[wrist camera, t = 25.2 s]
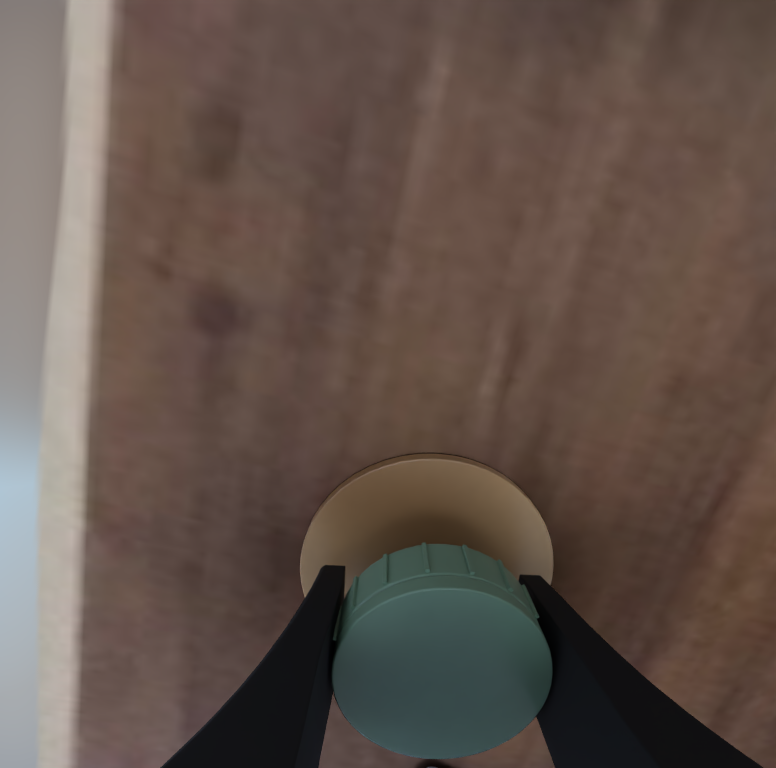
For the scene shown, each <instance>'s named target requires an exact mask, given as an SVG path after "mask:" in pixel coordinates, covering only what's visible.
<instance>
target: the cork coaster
mask: <svg viewBox="0 0 776 768" xmlns="http://www.w3.org/2000/svg"><path fill="white" fill-rule="evenodd" d="M424 542H426V544H450V545H458V546H462V545H463V544H464V545H467V548H471V549H473V550H476V551H479V552H481V553H483V554H485V555H487V556H489V557H491V558H493V559H494V560H496V561H498V560H499V559H500V560H501V561H502V562H503V565H504V567H505V568H506V569H508V570H509V571H510V572H511V573H512V574H513V575H514V577H515V578H516V579H517V580H518V581H519V576H520V574H523V575H540V576H541V577H542V578H543V579H544V580H545V581H546V582H547V583H548V584H549V585H551V582H552V575H553V568H554V564H553V549H552V543H551V538H550V535H549V532H548V530H547V527H546V524H545V522H544V521H543V519H542V517H541V515H540V513H539V511H538V510H537V508H536V507H535V505H534V504H533V503H532V501H531V500H530V499H529V498H528V496H527V495H526V494H525V493H524V492H523V491H522V490H521V489H520V488H519V487H518V486H517V485H516V484H515V483H514V482H512V481H511V480H510V479H508V478H507V477H506V476H504V475H503V474H501V473H500V472H498V471H496V470H494V469H492V468H490V467H489V466H486V465H484V464H481V463H479V462H476V461H473V460H470V459H466V458H462V457H458V456H454V455H445V454H413V455H405V456H400V457H396V458H392V459H388V460H384V461H382V462H379V463H377V464H374V465H371V466H369V467H367V468H365V469H363V470H362V471H360V472H358V473H356V474H354V475H353V476H351V477H350V478H349V479H347V480H346V481H344V482H343V483H342V484H340V485H339V486H338V487H337V488H336V489H335V490H334V491H333V492H332V493H331V494H330V495H329V496H328V497H327V498H326V500H325V501H324V502H323V503H322V504H321V506H320V507H319V509H318V510H317V512H316V514H315V515H314V517H313V519H312V521H311V523H310V526H309V528H308V530H307V533H306V536H305V539H304V543H303V547H302V551H301V559H300V577H301V584H302V589H303V593H304V597H306V596H307V594H308V592H309V590H310V589H311V587H312V585H313V583H314V581H315V579H316V577H317V575H318V573H319V571H320V569H321V567H323V566H324V565H340V566H345V591H344V598H345V596H346V594H347V592H348V590H349V589H350V587H351V586H352V584H353V578H354V577H355V576H357V577H359V576H360V575H361V573H362V572H364V571H365V570H366V569H367V568H368V567H369V566H370V565H372V564H373V563H375V562H376V561H378V560H379V559H381V558H383V555H384V554H386V553H387V555H389V554H391V553H393V552H396V551H399V550H402V549H404V548H408V547H413V546H416V545H422V543H424Z"/></svg>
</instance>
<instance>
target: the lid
mask: <svg viewBox="0 0 776 768" xmlns="http://www.w3.org/2000/svg"><path fill="white" fill-rule="evenodd" d="M537 618H539V615H538V613H537V611H536V609H535V606H534V604H533V602H532V600H531V597H530V595H529V593H528V591H527V589H526V587H525V585H524V584H523V585H520V583H519V581H518V580H517V579H516V578H515V577H514V575H513V574H512V573H511V572H510V571H509V570H508V569H506V568H505V567H504V565H503V562H502V561H501V560H500V559H499V560H498V561H496V560H494V559H493V558H491V557H489V556H487V555H485V554H483V553H481V552H479V551H476V550H473V549H471V548H467V545H464V544H463V545H462V546H458V545H450V544H426V542H424V543H422V545H416V546H413V547H408V548H404V549H402V550H399V551H396V552H393V553H391V554H389V555H387V553H386V554H384V555H383V558H381V559H379V560H378V561H376V562H375V563H373V564H372V565H370V566H369V567H368V568H367V569H366V570H365V571H364V572H362V573H361V575H360V576H359V577H357V576H355V577H354V578H353V584H352V586H351V587H350V589H349V590H348V592H347V594H346V596H345V598H344V600H343V603H342V606H340V610H339V614H338V618H337V622H336V626H335V630H334V635H333V640H335V641H336V642H335V649H334V655H333V662H332V671H331V678H332V687H333V692H334V696H335V699H336V701H337V704H338V706H339V708H340V710H341V711H342V713H343V715H344V716H345V718H346V719H347V720H348V721H349V723H350V724H351V725H352V726H353V727H354V728H355V729H356V730H357V731H358V732H359V733H361V734H362V735H363V736H365V737H366V738H367V739H369V740H370V741H372V742H374V743H376V744H377V745H379V746H381V747H383V748H386V749H388V750H391V751H393V752H396V753H400V754H403V755H407V756H412V757H417V758H427V759H450V758H459V757H464V756H470V755H474V754H477V753H481V752H484V751H487V750H489V749H492V748H494V747H496V746H498V745H500V744H502V743H504V742H506V741H508V740H509V739H511V738H512V737H514V736H515V735H517V734H518V733H519V732H521V731H522V730H523V729H524V728H525V727H526V726H528V725H529V723H530V722H531V721H532V720H533V719H534V718H535V717H536V716H537V714H538V713H539V711H540V710H541V708H542V707H543V705H544V703H545V701H546V699H547V697H548V694H549V691H550V687H551V683H552V675H553V667H552V657H551V652H550V649H549V646H548V644H547V641H546V639H545V636H544V634H543V632H542V630H541V627H540V625H539V623H538V621H537Z"/></svg>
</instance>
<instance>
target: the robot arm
mask: <svg viewBox="0 0 776 768" xmlns="http://www.w3.org/2000/svg"><path fill="white" fill-rule="evenodd" d="M519 583H520V585H523V584H524V585H525V587H526V589H527V591H528V593H529V595H530V597H531V600H532V602H533V604H534V606H535V609H536V611H537V613H538V615H539V618H537V621H538V623H539V625H540V627H541V630H542V632H543V634H544V636H545V639H546V641H547V644H548V646H549V649H550V652H551V657H552V667H553V675H552V683H551V687H550V691H549V694H548V697H547V699H546V701H545V703H544V705H543V707H542V708H541V710H540V711H539V713H538V714H537V719H538V722H539V725H540V727H541V730H542V733H543V735H544V738H545V741H546V744H547V746H548V749H549V752H550V754H551V757H552V760H553V763H554V765H555V768H763V767H762V766H760V765H759V764H757V763H756V762H754V761H753V760H752V759H750V758H749V757H747V756H746V755H744V754H743V753H742V752H740V751H739V750H737V749H736V748H735V747H733V746H732V745H730V744H729V743H728V742H726V741H725V740H724V739H722V738H721V737H720V736H718V735H717V734H715V733H714V732H713V731H711V730H710V729H709V728H707V727H706V726H705V725H703V724H702V723H701V722H699V721H698V720H697V719H695V718H694V717H693V716H692V715H690V714H689V713H688V712H686V711H685V710H684V709H683V708H681V707H680V706H679V705H678V704H676V703H675V702H674V701H673V700H672V699H670V698H669V697H668V696H667V695H665V694H664V693H663V692H662V691H661V690H659V689H658V688H657V687H656V686H654V685H653V684H652V683H651V682H650V681H649V680H647V679H646V678H645V677H644V676H643V675H642V674H641V673H639V672H638V671H637V670H636V669H635V668H634V667H633V666H632V665H631V664H629V663H628V662H627V661H626V660H625V659H624V658H623V657H622V656H621V655H620V654H618V653H617V652H616V651H615V650H614V649H613V648H612V647H611V646H610V645H609V644H608V643H607V642H606V641H605V640H604V639H603V638H602V637H601V636H600V635H599V634H597V633H596V632H595V631H594V630H593V629H592V628H591V627H590V626H589V625H588V624H587V623H586V622H585V621H584V620H583V619H582V618H581V617H580V616H579V615H578V614H577V612H576V611H575V610H574V609H573V608H572V607H571V606H570V605H569V604H568V603H567V602H566V601H565V600H564V599H563V598H562V597H561V596H560V595H559V594H558V593H557V592H556V591H555V590H554V589H553V588H552V587H551V586H550V585H549V584H548V583H547V582H546V581H545V580H544V579H543V578H542V577H541V576H540V575H523V574H520V576H519ZM344 591H345V566H340V565H324V566H323V567H321V569H320V571H319V573H318V575H317V577H316V579H315V581H314V583H313V585H312V587H311V589H310V590H309V592H308V594H307V596H306V597H305V599H304V601H303V602H302V604H301V605H300V607H299V609H298V610H297V612H296V613H295V615H294V616H293V618H292V619H291V621H290V623H289V624H288V626H287V627H286V628H285V630H284V631H283V633H282V634H281V635H280V637H279V638H278V640H277V641H276V642H275V644H274V645H273V646H272V648H271V649H270V651H269V652H268V653H267V655H266V656H265V657H264V658H263V660H262V661H261V662H260V664H259V665H258V666H257V667H256V669H255V670H254V671H253V672H252V673H251V675H250V676H249V677H248V678H247V679H246V681H245V682H244V683H243V684H242V685H241V686H240V688H239V689H238V690H237V691H236V692H235V693H234V694H233V695H232V696H231V698H230V699H229V700H228V701H227V702H226V703H225V704H224V705H223V706H222V707H221V709H220V710H219V711H218V712H217V713H216V714H215V715H214V716H213V717H212V718H211V719H210V720H209V721H208V722H207V723H206V724H205V725H204V726H203V727H202V728H201V729H200V730H199V731H198V732H197V733H196V734H195V735H194V736H193V737H192V738H191V739H190V740H189V741H188V742H187V743H186V744H185V745H184V746H183V747H182V748H181V749H180V750H179V751H178V752H177V753H175V754H174V755H173V756H172V757H171V758H170V759H169V760H168V761H167V762H166V763H165V764H164V765H163V766H162V767H161V768H318V766H319V760H320V754H321V749H322V744H323V739H324V734H325V729H326V724H327V720H328V715H329V710H330V705H331V700H332V695H333V687H332V678H331V671H332V662H333V655H334V649H335V642H336V641H335V640H333V635H334V630H335V626H336V622H337V618H338V614H339V610H340V606H342V603H343V600H344ZM427 768H437V767H427Z"/></svg>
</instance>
